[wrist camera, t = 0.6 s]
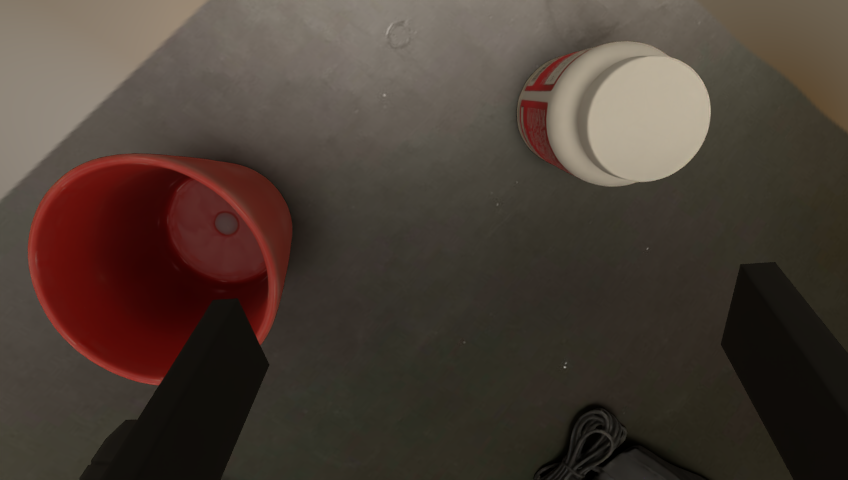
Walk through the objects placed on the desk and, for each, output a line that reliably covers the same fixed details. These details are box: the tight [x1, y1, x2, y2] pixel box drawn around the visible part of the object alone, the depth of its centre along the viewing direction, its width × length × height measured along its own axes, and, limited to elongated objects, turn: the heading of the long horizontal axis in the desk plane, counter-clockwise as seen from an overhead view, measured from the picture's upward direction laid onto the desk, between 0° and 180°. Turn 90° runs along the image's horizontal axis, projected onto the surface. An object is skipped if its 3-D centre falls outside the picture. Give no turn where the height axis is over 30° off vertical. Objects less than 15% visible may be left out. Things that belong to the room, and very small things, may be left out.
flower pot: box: [28, 153, 292, 385], centre depth 27 cm, size 11×11×10 cm
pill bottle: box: [517, 41, 711, 187], centre depth 24 cm, size 6×6×11 cm
